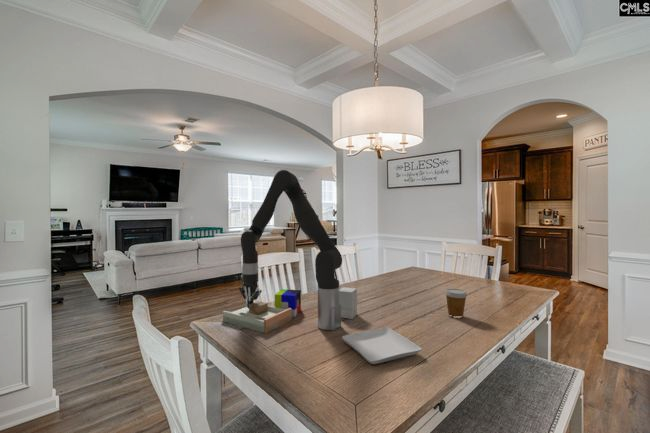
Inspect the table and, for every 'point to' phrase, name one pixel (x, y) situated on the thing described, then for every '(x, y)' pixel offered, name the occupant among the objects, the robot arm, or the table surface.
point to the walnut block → (258, 308)
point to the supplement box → (348, 302)
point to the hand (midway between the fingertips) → (250, 308)
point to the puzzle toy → (289, 300)
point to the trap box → (259, 318)
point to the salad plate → (381, 345)
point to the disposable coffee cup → (455, 301)
